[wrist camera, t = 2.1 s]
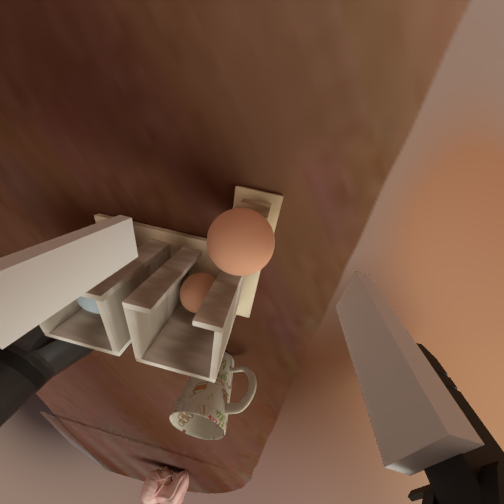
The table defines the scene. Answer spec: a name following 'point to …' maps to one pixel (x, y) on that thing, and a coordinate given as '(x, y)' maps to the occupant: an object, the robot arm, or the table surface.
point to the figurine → (165, 487)
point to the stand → (259, 203)
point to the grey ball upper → (88, 304)
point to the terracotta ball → (240, 241)
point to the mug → (211, 402)
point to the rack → (160, 306)
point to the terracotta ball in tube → (195, 290)
